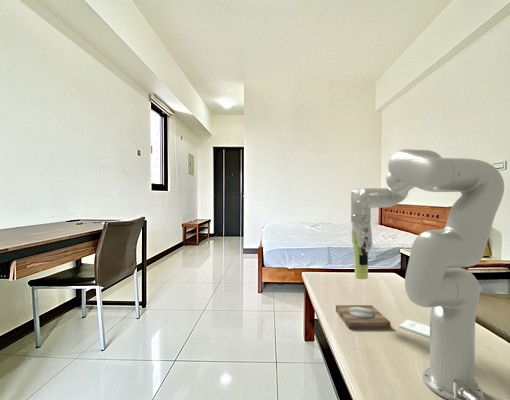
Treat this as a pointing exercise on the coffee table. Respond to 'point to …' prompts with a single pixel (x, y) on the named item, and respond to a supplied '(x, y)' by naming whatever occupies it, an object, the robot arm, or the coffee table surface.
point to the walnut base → (362, 317)
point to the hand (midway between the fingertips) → (360, 262)
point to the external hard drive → (416, 328)
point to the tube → (360, 270)
